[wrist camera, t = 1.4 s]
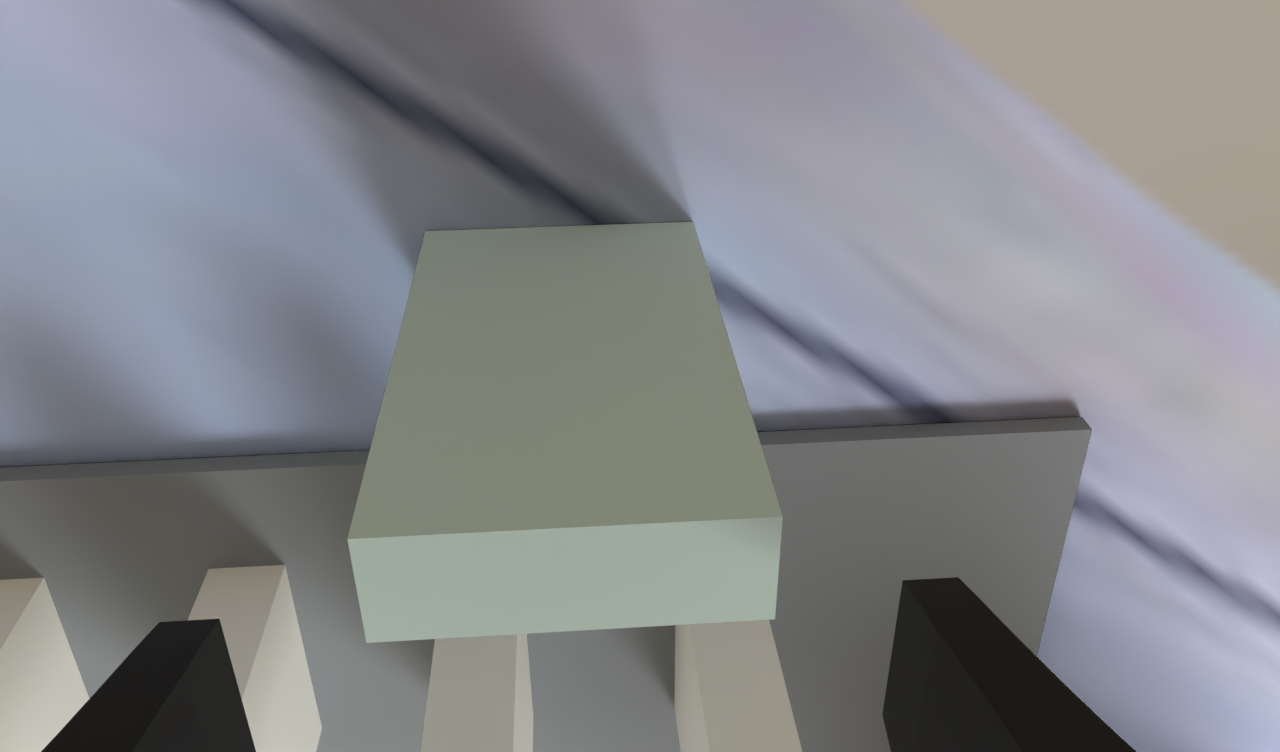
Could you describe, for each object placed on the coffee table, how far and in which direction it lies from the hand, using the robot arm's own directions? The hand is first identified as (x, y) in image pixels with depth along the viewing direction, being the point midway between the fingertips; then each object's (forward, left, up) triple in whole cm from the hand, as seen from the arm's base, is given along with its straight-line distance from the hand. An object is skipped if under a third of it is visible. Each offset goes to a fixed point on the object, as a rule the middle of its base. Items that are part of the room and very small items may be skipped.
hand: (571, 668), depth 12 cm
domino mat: (+2, +9, -10) cm, 14 cm away
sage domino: (0, 0, -10) cm, 10 cm away
